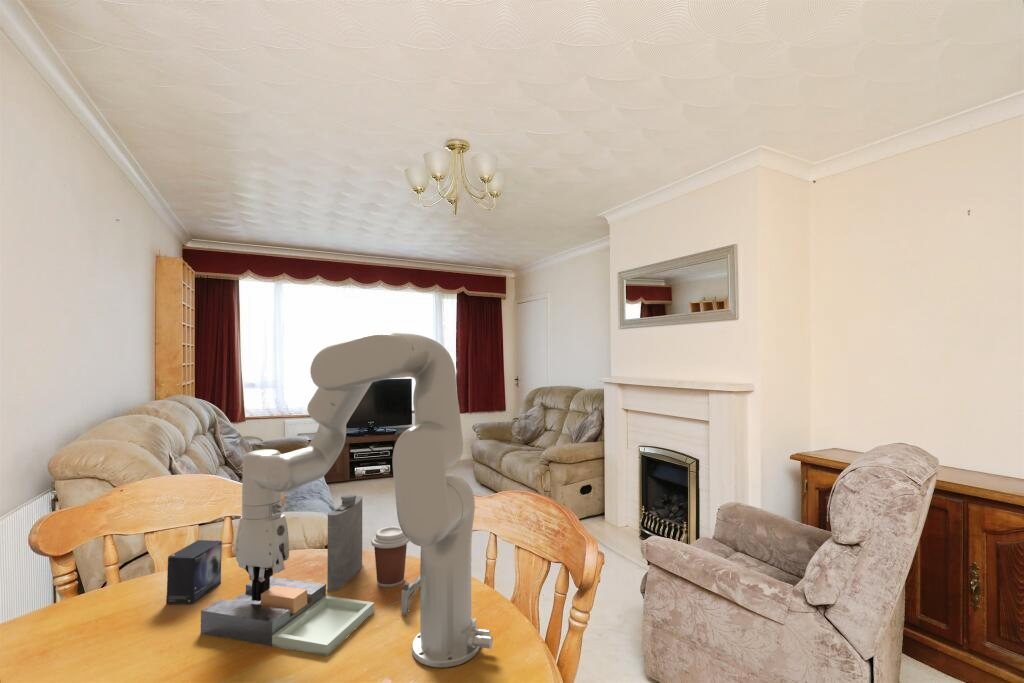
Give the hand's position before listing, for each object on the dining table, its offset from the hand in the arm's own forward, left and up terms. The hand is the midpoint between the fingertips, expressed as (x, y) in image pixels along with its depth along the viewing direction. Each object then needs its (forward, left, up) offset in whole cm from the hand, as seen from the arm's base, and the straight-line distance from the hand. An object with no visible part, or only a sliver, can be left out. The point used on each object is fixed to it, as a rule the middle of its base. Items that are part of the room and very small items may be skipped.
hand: (260, 597), depth 103 cm
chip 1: (-4, 0, -1) cm, 4 cm away
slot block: (-2, 0, -4) cm, 4 cm away
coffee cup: (-18, -22, -4) cm, 29 cm away
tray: (-16, 0, -4) cm, 16 cm away
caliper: (-27, -18, -5) cm, 33 cm away
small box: (+23, -5, -4) cm, 24 cm away
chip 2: (-8, 0, -1) cm, 8 cm away
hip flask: (-6, -22, -4) cm, 23 cm away
